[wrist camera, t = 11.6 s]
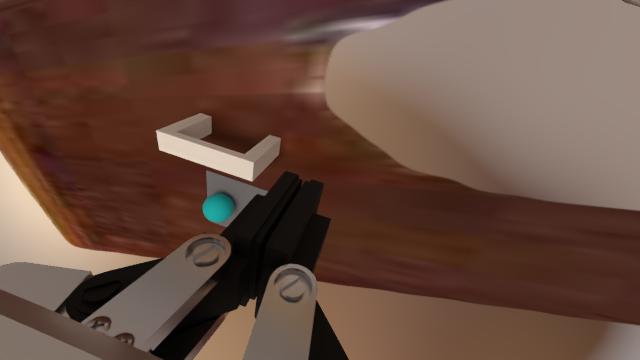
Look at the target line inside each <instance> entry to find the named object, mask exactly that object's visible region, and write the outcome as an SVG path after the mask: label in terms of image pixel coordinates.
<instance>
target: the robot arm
mask: <svg viewBox="0 0 640 360" xmlns="http://www.w3.org/2000/svg"><path fill="white" fill-rule="evenodd" d="M623 1H624V2H626V3H629V4H632V5H636V6H640V0H623ZM298 178H299V175H297V174H294V173H291V172H288V171H285V172H284V173H283V174H282V176H281V177H280V178H279V179H278V181H277V182H276V183H275V184H274V185H273V187H272V188H271V189H270V190H269V191H268V193H267V194H266V195H265V196H263V195H260V194H256V195H255V196H254V197H253V198H252V200H251V201H250V202H249V203H248V204H247V205H246V206H245V207H244V209H243V210H242V211H241V212H240V213H239V214H238V215H237V216H236V218H235V219H234V220H233V221H232V222H231V223H230V224H229V225H228V227H227V228H226V229H225V230H224V231H223V232H222V233H221V235H217V234H202V235H199V236H196V237H194V238H192V239H190V240H189V241H187V242H186V243H184V244H183V245H182V246H181V247H179V248H178V249H177V250H175V251H174V252H173V253H171V254H170V255H169V256H167V257H165V258H161V259H157V260H152V261H148V262H144V263H140V264H136V265H132V266H128V267H123V268H119V269H115V270H111V271H107V272H104V273H100V274H98V275H92V273H91V271H84V270H77V269H69V268H62V267H55V266H48V265H40V264H33V263H26V262H15V263H10V264H6V265H2V266H0V360H193V359H194V358H195V356H196V355H197V354H198V353H199V351H200V350H201V349H202V347H203V346H204V345H205V344H206V342H207V341H208V340H209V339H210V337H211V336H212V335H213V334H214V332H215V331H216V330H217V329H218V327H219V326H220V325H221V324H222V322H223V321H224V320H225V318H226V317H227V315H228V313H229V312H230V311H233V310H235V309H237V308H238V306H239V305H242V306H244V307H245V306H246V305H247V303H248V301H249V299H253V300H254V299H255V298H256V297H257V301H256V308H255V318H256V321H255V323H254V326H253V330H252V333H251V336H250V339H249V342H248V345H247V348H246V351H245V354H244V357H243V360H349V359H348V357H347V355H346V354H345V352H344V350H343V348H342V346H341V344H340V342H339V340H338V339H337V337H336V335H335V333H334V331H333V329H332V328H331V326H330V324H329V322H328V320H327V318H326V317H325V315H324V313H323V311H322V309H321V307H320V306H319V304H318V302H317V300H316V297H317V290H318V289H317V281H316V278H315V276H314V275H313V272H314V269H315V266H316V263H317V261H318V258H319V255H320V252H321V249H322V246H323V243H324V240H325V237H326V234H327V231H328V228H329V225H330V221H331V219H330V218H327V217H324V216H321V215H318V214H316V213H317V209H318V205H319V202H320V198H321V194H322V190H323V186H324V183H322V182H318V181H315V180H312V179H311V180H310V182H307V181H305V182H304V184H303V185H302V180H301V179H298ZM301 185H302V187H301Z"/></svg>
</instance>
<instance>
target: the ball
mask: <svg viewBox="0 0 640 360" xmlns="http://www.w3.org/2000/svg"><path fill="white" fill-rule="evenodd" d="M233 210H234V204H233V202H232V200H231V198H230V197H228V196H227V195H225V194H220V193H218V194H213V195H211V196H209V197H208V198H207V199H206V200H205V202H204V204H203V213H204V215H205V217H206V218H207V219H208V220H210V221H212V222H223V221H226V220H227V219H228V218H230V216H231V215H232V213H233Z"/></svg>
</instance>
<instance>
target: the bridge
mask: <svg viewBox="0 0 640 360" xmlns="http://www.w3.org/2000/svg"><path fill="white" fill-rule="evenodd" d="M156 131H157V138H158V144H159V150H161V151H164V152H167V153H170V154H173V155H176V156H179V157H182V158H185V159H187V160H190V161H193V162H196V163H199V164H202V165H205V166H208V167H211V168H214V169H217V170H220V171H223V172H226V173H229V174H232V175H235V176H238V177H241V178H244V179H247V180H250V181H253V180H254V179H255V178H256V177H257V176H258V175H259V174H260V173H261V172H262V171H263V170H264V169H265V168H266V167H267V166H268V165H269V164H270V163H271V162H272V161H273V160H274V159H275V158H276V157H277V156H278V155H279V150H280V143H281V138H279V137H275V136H272V135H269V136H267V137H266V138H265V139H263V140H262V141H261V142H260V143H258V144H257V145H256V146H254V147H253V148H252V149H251V150H249V151H248V152H247V153H245V154H242V153H239V152H236V151H233V150H230V149H227V148H223V147H220V146H217V145H214V144H211V143H208V142H205V141H202V140H200V139H201V138H203V137H205V136H207V135H209V134H211V133H212V122H211V116H208V115H205V114H202V113H200V114H197V115H194V116H192V117H189V118H187V119H184V120H182V121H179V122H177V123H174V124H172V125H169V126H167V127H164V128H161V129H159V130H156Z"/></svg>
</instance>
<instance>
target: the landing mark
mask: <svg viewBox="0 0 640 360" xmlns="http://www.w3.org/2000/svg"><path fill="white" fill-rule="evenodd" d="M206 175H207V198H208V197H209V196H211V195H213V194H218V193H220V194H225V195H227V196H228V197H230V198H231V200H232V202H233V204H234V210H233V213H232V215H231V216H230V218H228V219H227V220H226V221H223V222H214V223H216V224H219V225H222V226H225V227H228V225H229V224H230V223H231V222H232V221H233V220H234V219H235V218H236V216H237V215H238V214H239V213H240V212H241V211H242V210H243V209H244V207H245V206H246V205H247V204H248V203H249V202H250V201H251V200H252V198H253V197H254V196H255V195H256V194H260V195H263V196H265V195H266V194H267V193H268V190H265V189H262V188H259V187H256V186H253V185H250V184H247V183H244V182H241V181H238V180H235V179H232V178H229V177H226V176H224V175H221V174H218V173H215V172H212V171H209V170H206ZM209 221H210V220H209ZM211 222H212V221H211Z"/></svg>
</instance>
